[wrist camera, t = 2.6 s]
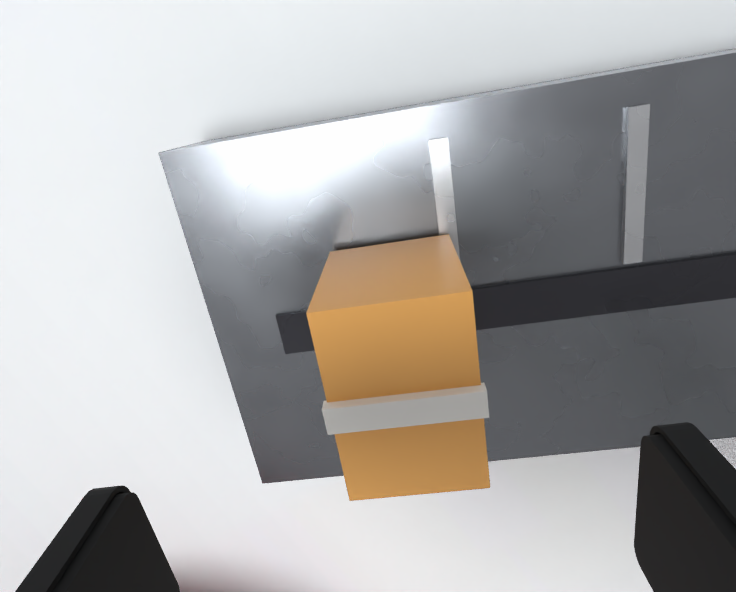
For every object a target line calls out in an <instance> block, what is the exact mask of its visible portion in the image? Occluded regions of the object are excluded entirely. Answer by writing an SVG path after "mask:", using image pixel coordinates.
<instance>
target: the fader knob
mask: <svg viewBox="0 0 736 592" xmlns="http://www.w3.org/2000/svg"><path fill="white" fill-rule="evenodd" d="M306 314H307V319H308V323H309V327H310V332H311V336H312V340H313V345H314V349H315V353H316V357H317V362H318V366H319V370H320V375H321V379H322V383H323V388H324V392H325V396H326V401H324V402H323V406H322V413H323V417H324V421H325V425H326V430H327V434H328V435H332V434H334V435H335V439H336V443H337V448H338V452H339V456H340V461H341V465H342V469H343V474H344V478H345V482H346V487H347V491H348V495H349V499H350V501H353V500H364V499H375V498H385V497H396V496H407V495H418V494H429V493H439V492H450V491H461V490H472V489H483V488H490V480H489V469H488V458H487V447H486V436H485V425H484V418H489V408H488V396H487V389H486V386H485V383H484V382H483V383H481V380H480V369H479V358H478V347H477V336H476V325H475V313H474V302H473V291H472V289H471V286H470V284H469V281H468V279H467V277H466V274H465V272H464V269H463V267H462V264H461V262H460V260H459V257H458V255H457V252H456V250H455V248H454V245H453V243H452V240H451V238H450V235H449V234H447V235H440V236H433V237H426V238H419V239H413V240H406V241H399V242H392V243H385V244H378V245H372V246H365V247H358V248H351V249H344V250H337V251H330V253H329V255H328V258H327V261H326V263H325V266H324V268H323V271H322V274H321V276H320V279H319V281H318V284H317V287H316V289H315V292H314V294H313V297H312V300H311V302H310V305H309V307H308V310H307V312H306Z"/></svg>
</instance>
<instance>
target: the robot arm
mask: <svg viewBox="0 0 736 592" xmlns="http://www.w3.org/2000/svg"><path fill="white" fill-rule="evenodd" d="M634 548H635V553H636V557H637V560H638V563H639V565H640V567H641V569H642V571H643V573H644V575H645V576H646V578H647V580H648V582H649V584H650V586H651V588H652V589H653V591H654V592H736V469H735V468H734V467H733V466H732V465H731V464H730V463H729V462H728V461H727V460H726V459H725V457H724V456H723V455H722V454H721V453H720V452H719V451H718V450H717V449H716V448H715V447H714V446H713V444H712V443H711V442H710V441H709V440H708V439H707V438H706V437H705V436H704V435H703V434H702V433H701V432H700V430H699V429H698V428H697V427H696V426H694V425H693V424H692V423H689V422H684V423H675V424H666V425H657V426H653V427H652V428H651V430H650V435H646V436H643V437H642V439H641V448H640V463H639V478H638V493H637V508H636V523H635V538H634ZM15 592H180V589H179V585H178V583H177V581H176V579H175V576H174V574H173V572H172V570H171V568H170V566H169V563H168V561H167V559H166V557H165V555H164V553H163V550H162V548H161V546H160V544H159V542H158V540H157V537H156V535H155V533H154V531H153V529H152V526H151V524H150V522H149V520H148V518H147V516H146V513H145V511H144V509H143V507H142V505H141V503H140V500H139V498H138V496H137V495H136V494H135V493H131V492H130V491H129V489H128V488H127V487H125V486H114V487H105V488H96V489H92V490H90V491H89V492H88V493H87V494H86V495H85V496H84V498H83V499H82V500H81V502H80V503H79V505H78V506H77V507H76V509H75V510H74V512H73V513H72V514H71V516H70V517H69V518H68V520H67V521H66V523H65V524H64V525H63V527H62V528H61V529H60V531H59V532H58V534H57V535H56V536H55V538H54V539H53V540H52V542H51V543H50V545H49V546H48V547H47V549H46V550H45V551H44V553H43V554H42V556H41V557H40V558H39V560H38V561H37V563H36V564H35V565H34V567H33V568H32V569H31V571H30V572H29V574H28V575H27V576H26V578H25V579H24V580H23V582H22V583H21V585H20V586H19V587H18V589H17V590H16V591H15Z"/></svg>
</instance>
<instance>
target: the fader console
mask: <svg viewBox="0 0 736 592" xmlns="http://www.w3.org/2000/svg"><path fill="white" fill-rule="evenodd" d="M159 156H160V159H161V162H162V165H163V168H164V172H165V175H166V178H167V181H168V184H169V188H170V191H171V194H172V197H173V200H174V203H175V207H176V210H177V213H178V216H179V219H180V222H181V226H182V229H183V232H184V235H185V238H186V242H187V245H188V248H189V251H190V254H191V257H192V261H193V264H194V267H195V270H196V273H197V277H198V280H199V283H200V286H201V289H202V292H203V296H204V299H205V302H206V305H207V308H208V311H209V315H210V318H211V321H212V324H213V327H214V331H215V334H216V337H217V340H218V343H219V346H220V350H221V353H222V356H223V359H224V362H225V366H226V369H227V372H228V375H229V378H230V381H231V385H232V388H233V391H234V394H235V397H236V400H237V404H238V407H239V410H240V413H241V416H242V420H243V423H244V426H245V429H246V432H247V435H248V439H249V442H250V445H251V448H252V451H253V455H254V458H255V461H256V464H257V467H258V470H259V474H260V477H261V480H262V483H272V482H282V481H293V480H303V479H313V478H323V477H333V476H343V475H344V474H343V469H342V465H341V461H340V456H339V452H338V448H337V443H336V439H335V435H334V434H332V435H328V434H327V430H326V425H325V421H324V417H323V413H322V406H323V402H324V401H326V396H325V392H324V388H323V383H322V379H321V375H320V370H319V366H318V362H317V357H316V353H315V349H314V345H313V340H312V336H311V332H310V327H309V323H308V319H307V314H306V312H307V310H308V307H309V305H310V302H311V300H312V297H313V294H314V292H315V289H316V287H317V284H318V281H319V279H320V276H321V274H322V271H323V268H324V266H325V263H326V261H327V258H328V255H329V253H330V251H337V250H344V249H351V248H358V247H365V246H372V245H378V244H385V243H392V242H399V241H406V240H413V239H419V238H426V237H433V236H440V235H447V234H449V235H450V238H451V240H452V243H453V245H454V248H455V250H456V252H457V255H458V257H459V260H460V262H461V264H462V267H463V269H464V272H465V274H466V277H467V279H468V281H469V284H470V286H471V289H472V291H473V302H474V313H475V325H476V336H477V347H478V358H479V369H480V380H481V383H483V382H484V383H485V386H486V389H487V396H488V408H489V418H484V425H485V436H486V447H487V458H488V461H496V460H507V459H517V458H527V457H537V456H547V455H558V454H568V453H578V452H588V451H598V450H608V449H619V448H629V447H639V446H641V439H642V437H643V436H646V435H650V430H651V428H652V427H653V426H657V425H666V424H675V423H684V422H689V423H692V424H693V425H694V426H696V427H697V428H698V429H699V430H700V432H701V433H702V434H703V435H704V436H705V437H706V438H707V439H708V440H710V439H721V438H731V437H736V49H731V50H725V51H719V52H713V53H708V54H702V55H696V56H691V57H685V58H679V59H673V60H668V61H662V62H656V63H650V64H645V65H639V66H633V67H627V68H622V69H616V70H610V71H604V72H599V73H593V74H587V75H582V76H576V77H570V78H564V79H559V80H553V81H547V82H541V83H536V84H530V85H524V86H518V87H513V88H507V89H501V90H496V91H490V92H484V93H478V94H473V95H467V96H461V97H455V98H450V99H444V100H438V101H432V102H427V103H421V104H415V105H409V106H404V107H398V108H392V109H387V110H381V111H375V112H369V113H364V114H358V115H352V116H346V117H341V118H335V119H329V120H323V121H318V122H312V123H306V124H301V125H295V126H289V127H283V128H278V129H272V130H266V131H260V132H255V133H249V134H243V135H237V136H232V137H226V138H220V139H214V140H209V141H203V142H199V143H195V144H191V145H187V146H183V147H179V148H175V149H171V150H167V151H163V152H159Z"/></svg>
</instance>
